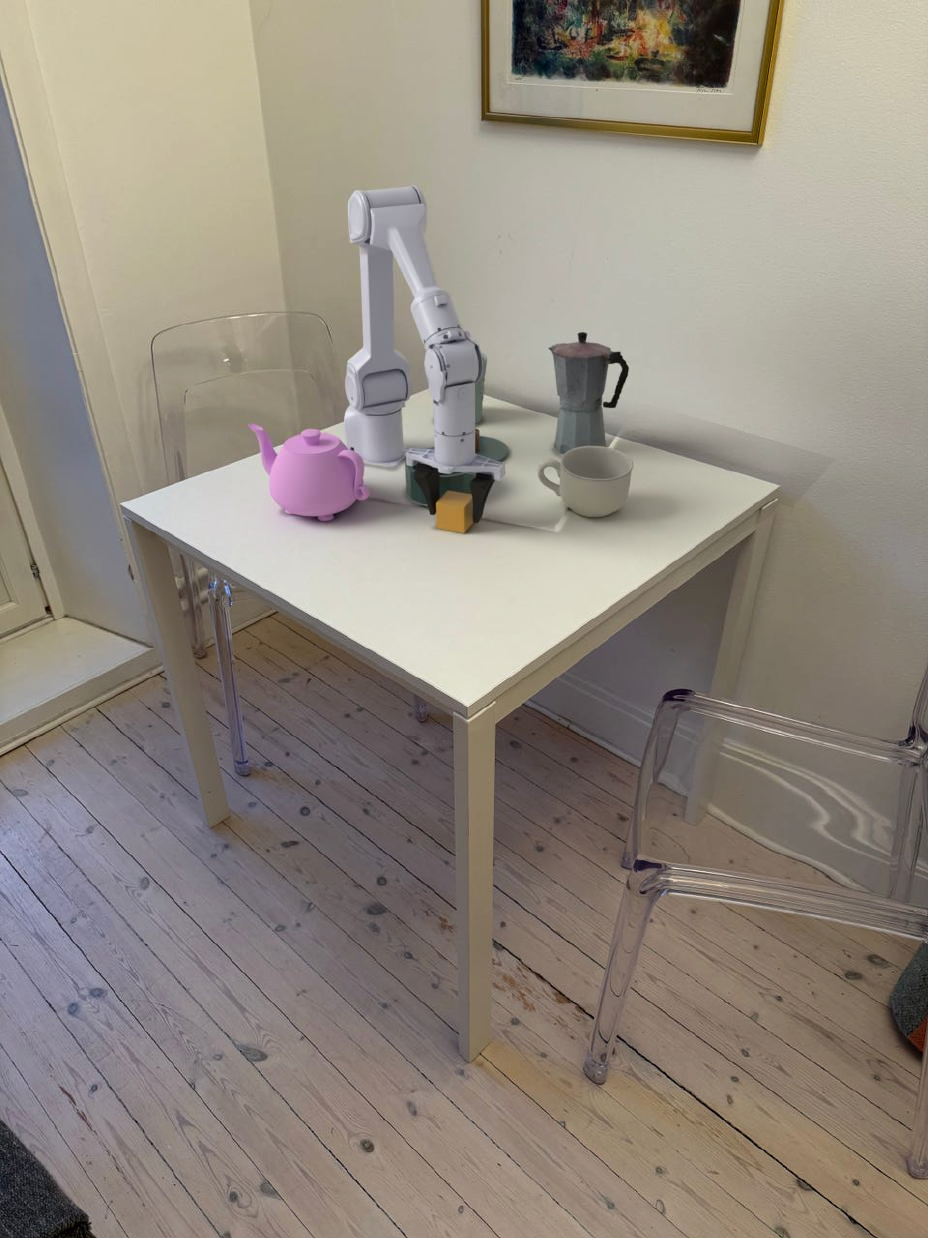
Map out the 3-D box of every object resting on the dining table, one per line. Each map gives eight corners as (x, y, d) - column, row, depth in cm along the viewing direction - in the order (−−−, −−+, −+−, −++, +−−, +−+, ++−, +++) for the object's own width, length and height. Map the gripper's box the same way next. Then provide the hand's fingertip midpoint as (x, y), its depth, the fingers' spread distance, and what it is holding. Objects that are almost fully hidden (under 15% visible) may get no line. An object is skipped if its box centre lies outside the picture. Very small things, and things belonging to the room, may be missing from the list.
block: (436, 528, 130) (435, 502, 128) (448, 515, 134) (447, 490, 131) (464, 533, 129) (464, 507, 127) (475, 520, 132) (475, 494, 130)
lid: (424, 464, 149) (423, 439, 147) (452, 437, 159) (452, 413, 156) (493, 475, 145) (493, 449, 143) (517, 447, 155) (518, 422, 152)
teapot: (233, 513, 135) (220, 438, 128) (284, 476, 146) (275, 405, 139) (347, 537, 128) (340, 459, 122) (392, 496, 139) (388, 423, 132)
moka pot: (557, 431, 160) (563, 319, 149) (634, 450, 153) (647, 334, 142) (529, 448, 154) (533, 333, 143) (608, 470, 146) (619, 349, 135)
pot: (394, 502, 138) (392, 470, 135) (424, 472, 146) (423, 442, 143) (462, 514, 134) (462, 481, 131) (489, 483, 143) (489, 452, 140)
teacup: (634, 498, 138) (639, 450, 133) (621, 530, 129) (626, 479, 125) (547, 486, 142) (549, 439, 137) (529, 516, 133) (530, 467, 129)
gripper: (394, 431, 122) (399, 519, 130) (493, 446, 118) (492, 536, 125) (416, 414, 128) (419, 499, 135) (511, 427, 123) (509, 514, 131)
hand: (456, 515), depth 131 cm, fingers open, 6 cm apart
